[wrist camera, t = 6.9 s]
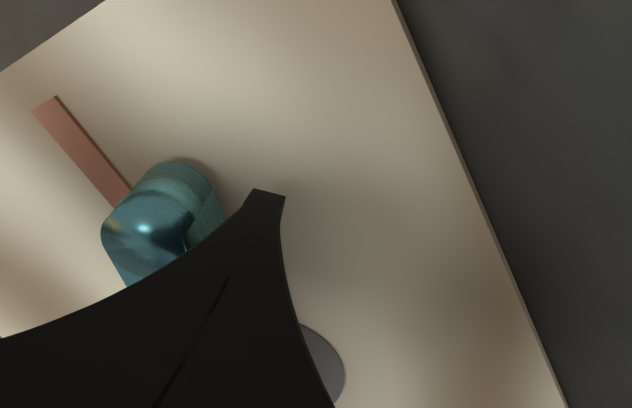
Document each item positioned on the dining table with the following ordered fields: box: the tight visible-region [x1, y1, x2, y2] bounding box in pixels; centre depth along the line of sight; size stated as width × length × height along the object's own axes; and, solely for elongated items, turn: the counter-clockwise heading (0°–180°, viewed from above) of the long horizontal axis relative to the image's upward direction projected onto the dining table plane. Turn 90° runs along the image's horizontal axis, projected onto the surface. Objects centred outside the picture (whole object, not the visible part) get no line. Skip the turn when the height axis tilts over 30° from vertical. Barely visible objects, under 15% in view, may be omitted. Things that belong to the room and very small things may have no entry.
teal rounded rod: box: [100, 161, 225, 287], centre depth 13 cm, size 9×2×2 cm, turn 14°
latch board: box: [0, 0, 569, 408], centre depth 15 cm, size 16×18×2 cm
